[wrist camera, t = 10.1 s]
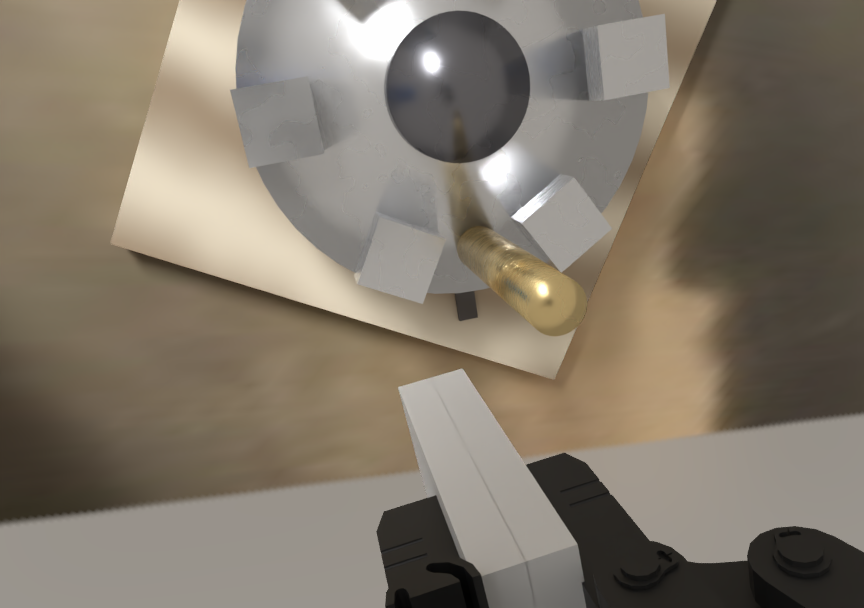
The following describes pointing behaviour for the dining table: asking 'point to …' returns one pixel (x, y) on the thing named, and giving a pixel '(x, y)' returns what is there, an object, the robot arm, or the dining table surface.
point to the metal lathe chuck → (449, 136)
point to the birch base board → (277, 237)
